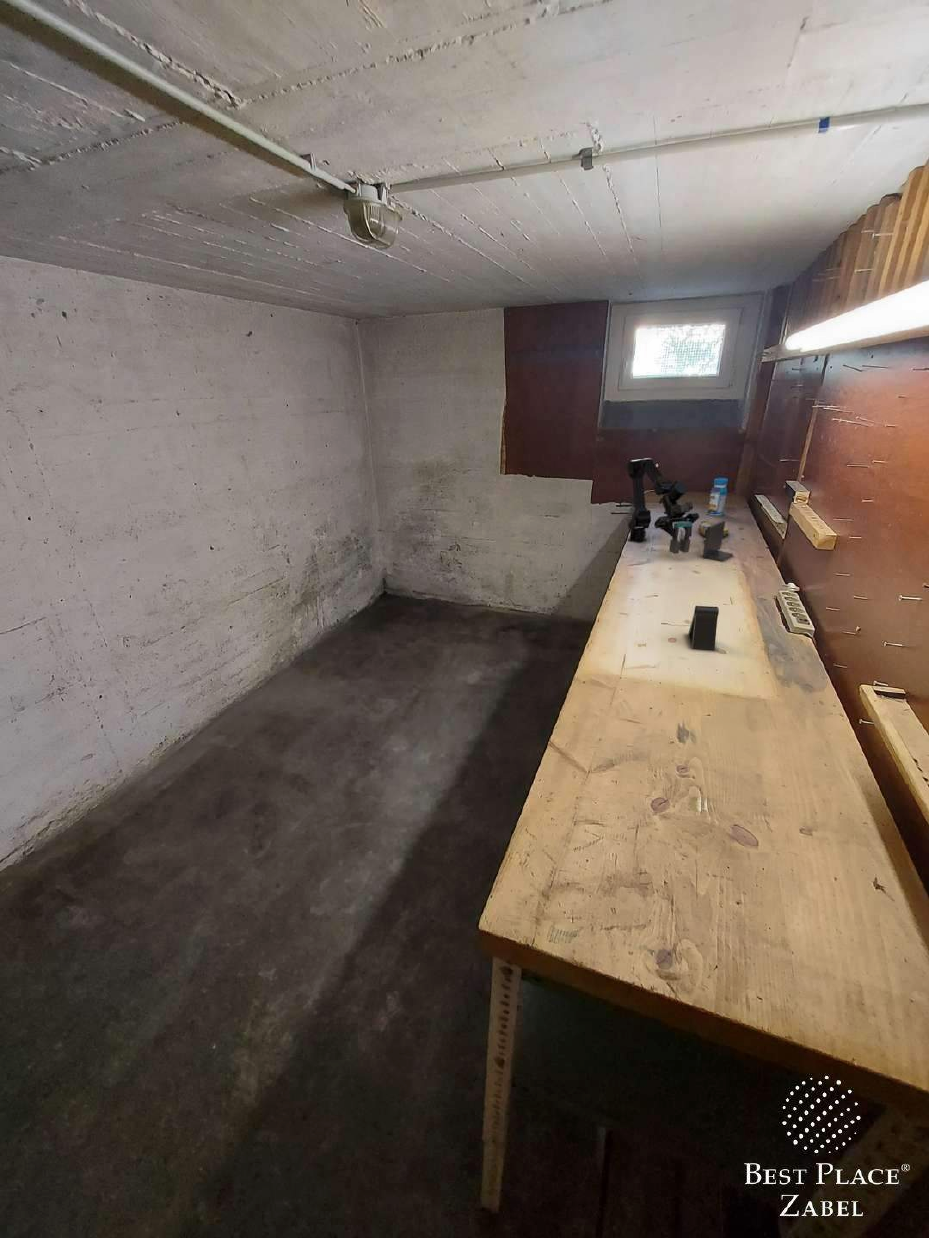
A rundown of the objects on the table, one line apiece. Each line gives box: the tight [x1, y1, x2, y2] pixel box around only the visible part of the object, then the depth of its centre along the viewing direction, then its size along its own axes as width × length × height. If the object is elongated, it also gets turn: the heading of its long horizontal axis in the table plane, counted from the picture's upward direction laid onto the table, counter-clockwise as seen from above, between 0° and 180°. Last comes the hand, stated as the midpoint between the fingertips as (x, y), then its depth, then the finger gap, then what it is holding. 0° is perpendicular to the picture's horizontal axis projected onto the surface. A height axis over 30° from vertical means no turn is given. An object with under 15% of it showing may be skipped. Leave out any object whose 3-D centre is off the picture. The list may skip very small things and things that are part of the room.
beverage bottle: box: [707, 477, 729, 517], centre depth 276 cm, size 8×8×20 cm
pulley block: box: [697, 520, 730, 543], centre depth 241 cm, size 14×6×30 cm
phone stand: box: [687, 605, 720, 651], centre depth 145 cm, size 9×6×12 cm, turn 165°
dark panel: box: [702, 520, 734, 562], centre depth 214 cm, size 13×14×14 cm
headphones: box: [668, 521, 693, 555], centre depth 210 cm, size 4×7×13 cm, turn 103°
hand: (683, 537), depth 208 cm, fingers closed on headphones, 7 cm apart
